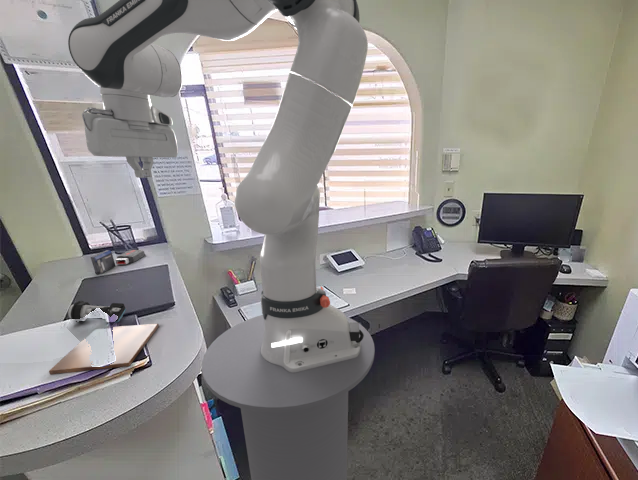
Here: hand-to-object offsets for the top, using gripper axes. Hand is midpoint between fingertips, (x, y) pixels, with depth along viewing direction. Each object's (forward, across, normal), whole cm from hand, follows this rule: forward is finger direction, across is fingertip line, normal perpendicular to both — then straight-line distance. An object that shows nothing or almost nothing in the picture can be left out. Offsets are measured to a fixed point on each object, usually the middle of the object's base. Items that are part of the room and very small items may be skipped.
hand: (144, 177), depth 75 cm
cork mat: (+34, -21, -5) cm, 40 cm away
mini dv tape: (+34, +15, +41) cm, 56 cm away
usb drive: (+34, +26, +44) cm, 61 cm away
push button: (+33, -11, +4) cm, 35 cm away
